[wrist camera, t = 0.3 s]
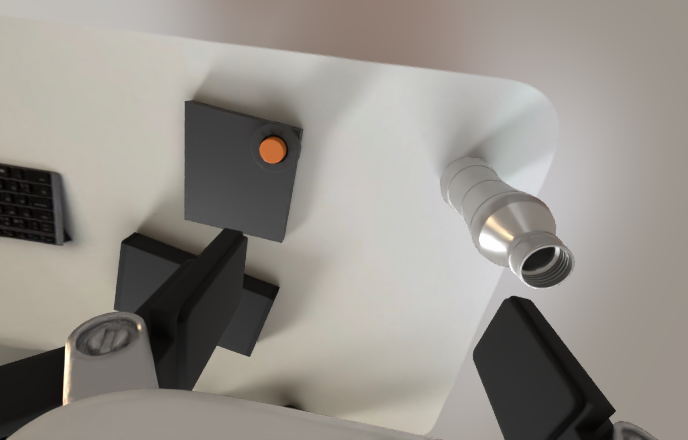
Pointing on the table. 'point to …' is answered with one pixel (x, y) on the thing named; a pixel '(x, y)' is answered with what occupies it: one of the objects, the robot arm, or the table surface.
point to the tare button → (273, 149)
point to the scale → (237, 171)
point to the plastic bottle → (507, 223)
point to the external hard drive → (161, 262)
